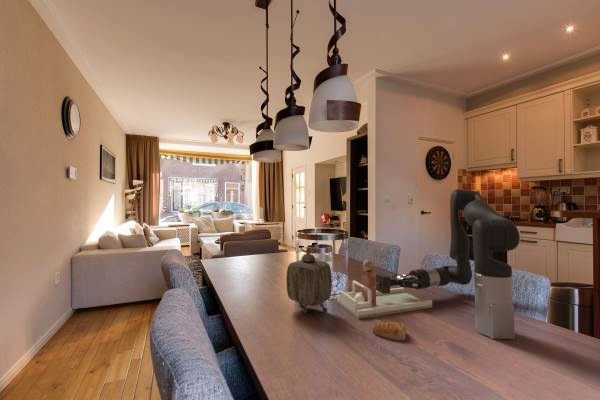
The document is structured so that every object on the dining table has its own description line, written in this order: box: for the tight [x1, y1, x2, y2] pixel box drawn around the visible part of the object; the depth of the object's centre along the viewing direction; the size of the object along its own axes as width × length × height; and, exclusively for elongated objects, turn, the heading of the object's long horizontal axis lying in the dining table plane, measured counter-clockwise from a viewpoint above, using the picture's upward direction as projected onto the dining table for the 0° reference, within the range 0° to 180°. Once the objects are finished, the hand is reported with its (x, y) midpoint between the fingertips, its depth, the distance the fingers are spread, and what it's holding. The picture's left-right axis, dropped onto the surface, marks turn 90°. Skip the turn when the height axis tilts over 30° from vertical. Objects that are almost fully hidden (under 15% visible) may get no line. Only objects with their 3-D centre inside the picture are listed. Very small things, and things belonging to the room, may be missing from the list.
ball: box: [354, 294, 365, 303], centre depth 106 cm, size 4×4×4 cm
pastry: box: [372, 321, 407, 341], centre depth 85 cm, size 9×7×4 cm
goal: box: [338, 280, 372, 313], centre depth 105 cm, size 7×13×8 cm, turn 17°
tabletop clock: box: [286, 244, 333, 314], centre depth 103 cm, size 14×9×25 cm, turn 51°
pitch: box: [336, 287, 433, 320], centre depth 108 cm, size 30×17×2 cm, turn 107°
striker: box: [361, 259, 391, 305], centre depth 107 cm, size 10×5×16 cm, turn 107°
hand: (386, 282), depth 109 cm, fingers closed
